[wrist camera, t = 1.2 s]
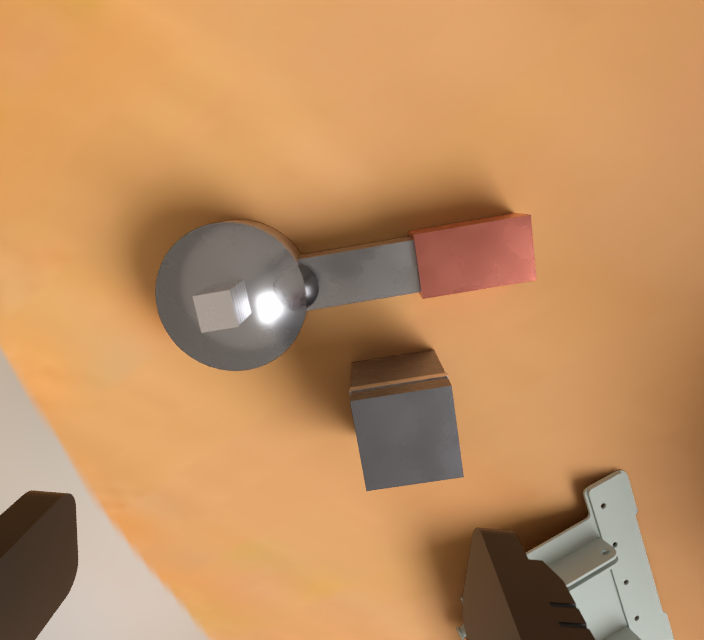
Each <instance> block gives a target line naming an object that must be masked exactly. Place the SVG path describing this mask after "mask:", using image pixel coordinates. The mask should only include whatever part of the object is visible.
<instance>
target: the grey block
mask: <svg viewBox="0 0 704 640" xmlns="http://www.w3.org/2000/svg"><path fill="white" fill-rule="evenodd" d="M349 392H350V404H351V409H352V414H353V420H354V425H355V431H356V436H357V442H358V447H359V453H360V458H361V463H362V469H363V474H364V480H365V485H366V491H371V490H377V489H384V488H391V487H398V486H405V485H412V484H419V483H426V482H433V481H440V480H447V479H453V478H460V477H464V476H463V468H462V461H461V453H460V446H459V438H458V431H457V423H456V416H455V408H454V401H453V393H452V386H451V384H450V382H449V379H448V375H447V373H445V371H444V369H443V367H442V365H441V363H440V361H439V359H438V357H437V355H436V353H435V351H434V350H428V351H422V352H416V353H409V354H403V355H397V356H390V357H384V358H378V359H371V360H365V361H359V362H352V369H351V387H350V389H349Z"/></svg>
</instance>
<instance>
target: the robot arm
mask: <svg viewBox="0 0 704 640" xmlns="http://www.w3.org/2000/svg"><path fill="white" fill-rule="evenodd" d="M76 524H77V523H76V504H75V499H74V497H73V496H72V495H71V494H68V493H56V492H44V491H29V492H27V493H25V494H24V495H23V496H22V497H21V498H19V499H18V500H17V501H16V502H15V503H14V504H13V505H11V506H10V507H9V508H8V509H7V510H6V511H5V512H4V513H2V514H1V515H0V640H35V639H36V638H37V636H38V635H39V634H40V632H41V631H42V629H43V628H44V627H45V625H46V624H47V623H48V621H49V620H50V618H51V617H52V616H53V614H54V613H55V612H56V610H57V609H58V607H59V606H60V605H61V603H62V602H63V601H64V599H65V598H66V596H67V595H68V593H69V591H70V589H71V587H72V585H73V582H74V579H75V576H76V572H77V567H78V545H77V525H76ZM462 610H463V622H464V628H465V632H466V636H467V640H595V638H594V636H593V634H592V633H591V631H590V629H587V623H586V622H585V620H584V618H583V616H582V614H581V612H580V610H579V609H577V608H576V603H575V601H574V599H573V598H572V596H571V594H570V592H569V590H568V588H567V586H566V585H565V583H564V581H563V580H562V579H561V578H560V577H559V576H558V575H557V574H556V573H555V572H554V571H553V570H552V569H551V568H550V567H549V566H548V565H547V564H545V563H544V562H543V561H542V560H531V559H528V557H527V555H526V553H525V551H524V549H523V547H522V545H521V542H520V540H519V538H518V536H517V534H516V533H515V532H514V531H509V530H497V529H484V528H476V529H475V530H474V532H473V535H472V540H471V546H470V553H469V559H468V565H467V571H466V577H465V583H464V590H463V600H462Z"/></svg>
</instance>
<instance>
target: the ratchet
mask: <svg viewBox="0 0 704 640" xmlns="http://www.w3.org/2000/svg"><path fill="white" fill-rule="evenodd" d="M534 280H536V270H535V258H534V247H533V235H532V224H531V215H528V214H518V213H512V214H506V215H500V216H494V217H488V218H483V219H477V220H471V221H465V222H459V223H453V224H448V225H442V226H436V227H430V228H424V229H418V230H413V231H409V237H403V238H397V239H391V240H386V241H380V242H374V243H368V244H362V245H356V246H350V247H344V248H339V249H333V250H327V251H321V252H315V253H309V254H303V255H301V253H300V252H299V250H298V249H297V248H296V246H295V245H294V244H293V243H292V242H291V241H290V240H289V239H288V238H287V237H286V236H284V235H283V234H282V233H281V232H279V231H277V230H276V229H274V228H272V227H270V226H268V225H265V224H263V223H259V222H256V221H250V220H229V221H223V222H218V223H213V224H209V225H205V226H202V227H199V228H197V229H194V230H193V231H191V232H189V233H187V234H186V235H184V236H183V237H182V238H181V239H179V240H178V241H177V242H176V243H175V244H174V245H173V246H172V247H171V249H170V250H169V252H168V253H167V254H166V256H165V258H164V260H163V262H162V263H161V266H160V269H159V272H158V276H157V280H156V291H155V294H156V304H157V309H158V313H159V316H160V319H161V322H162V324H163V326H164V328H165V330H166V331H167V333H168V334H169V336H170V338H171V339H172V340H173V341H174V342H175V344H176V345H177V346H178V347H179V348H180V349H181V350H182V351H184V352H185V353H186V354H187V355H189V356H190V357H191V358H193V359H195V360H197V361H198V362H200V363H202V364H205V365H207V366H210V367H213V368H217V369H221V370H228V371H241V370H249V369H254V368H257V367H260V366H263V365H266V364H267V363H269V362H271V361H273V360H275V359H276V358H278V357H279V356H280V355H282V354H283V353H284V352H285V351H286V350H287V349H288V348H289V347H290V345H291V344H292V343H293V342H294V340H295V339H296V337H297V335H298V334H299V332H300V329H301V327H302V325H303V322H304V320H305V318H306V316H307V313H308V310H314V309H320V308H326V307H332V306H338V305H344V304H351V303H357V302H363V301H369V300H375V299H381V298H387V297H393V296H399V295H405V294H411V293H417V292H419V294H420V295H421V297H422V299H424V298H430V297H437V296H443V295H449V294H455V293H461V292H467V291H473V290H479V289H485V288H491V287H498V286H504V285H510V284H516V283H522V282H528V281H534Z"/></svg>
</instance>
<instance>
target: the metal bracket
mask: <svg viewBox="0 0 704 640" xmlns="http://www.w3.org/2000/svg"><path fill="white" fill-rule="evenodd" d="M583 496H584V499H585V502H586V506H587V509H588V516H587V518H585V519H584V520H582V521H580V522H579V523H577V524H575V525H573V526H572V527H570V528H568V529H566V530H565V531H563V532H561V533H559V534H558V535H556V536H554V537H552V538H551V539H549V540H547V541H545V542H543V543H542V544H540V545H538V546H536V547H535V548H533V549H531V550H529V551H528V552H526V555H527V557H528V559H531V560H542V561H543V562H544V563H545V564H547V565H548V566H549V567H550V568H551V569H552V570H553V571H554V572H555V573H556V574H557V575H558V576H559V577H560V578H561V579H562V580H563V581H564V583H565V585H566V586H567V588H568V590H569V592H570V594H571V596H572V598H573V599H574V601H575V603H576V608H577V609H579V610H580V612H581V614H582V616H583V618H584V620H585V622H586V623H587V629H590V631H591V633H592V634H593V636H594V638H595V640H674V638H673V634H672V631H671V627H670V623H669V620H668V616H667V613H665V612H663V611H662V607H661V604H660V600H659V597H658V593H657V590H656V586H655V583H654V579H653V575H652V572H651V568H650V565H649V561H648V558H647V554H646V551H645V547H644V544H643V540H642V537H641V533H640V530H639V526H638V523H637V519H636V514H637V512H638V510H637V506H636V503H635V499H634V496H633V492H632V489H631V485H630V482H629V478H628V475H627V474H626V473H625V472H624V471H623V470H617V471H615V472H613V473H611V474H610V475H608V476H606V477H604V478H602V479H601V480H599V481H597V482H595V483H593V484H592V485H590V486H588V487H586V488H585V489H584V491H583ZM603 503H604V506H603V507H601V505H602V504H603ZM614 542H615V545H614V546H613V543H614ZM625 580H627V581H626V582H625V583H624V581H625ZM460 599H461V602H462V600H463V597H461V598H460ZM636 616H637V617H636ZM635 617H636V618H635ZM456 629H457V632H458V634H459V636H460V638H461V639H462V640H464V638H465V637H467V636H466V632H465V628H464V624H462V625H461V627H460V628H458V627H457V628H456Z"/></svg>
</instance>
